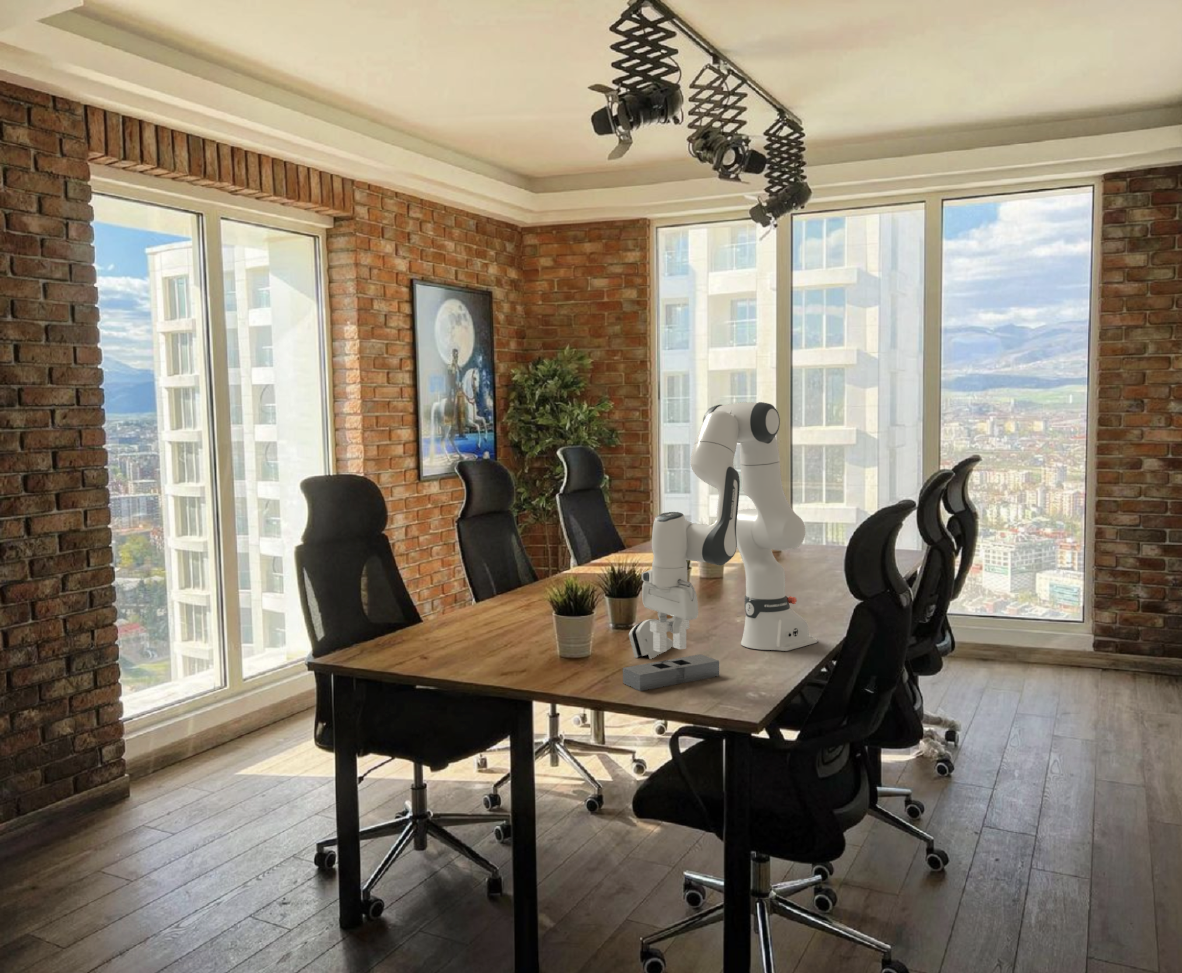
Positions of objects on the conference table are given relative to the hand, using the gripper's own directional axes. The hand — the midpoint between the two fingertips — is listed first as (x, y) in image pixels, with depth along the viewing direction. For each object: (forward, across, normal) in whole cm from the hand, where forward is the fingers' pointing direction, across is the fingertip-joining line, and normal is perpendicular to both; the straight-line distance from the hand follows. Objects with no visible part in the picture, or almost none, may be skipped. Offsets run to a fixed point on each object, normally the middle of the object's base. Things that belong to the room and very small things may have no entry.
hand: (670, 631), depth 247 cm
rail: (+12, 0, 0) cm, 13 cm away
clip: (+5, 0, 0) cm, 5 cm away
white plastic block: (+13, +28, -12) cm, 33 cm away
